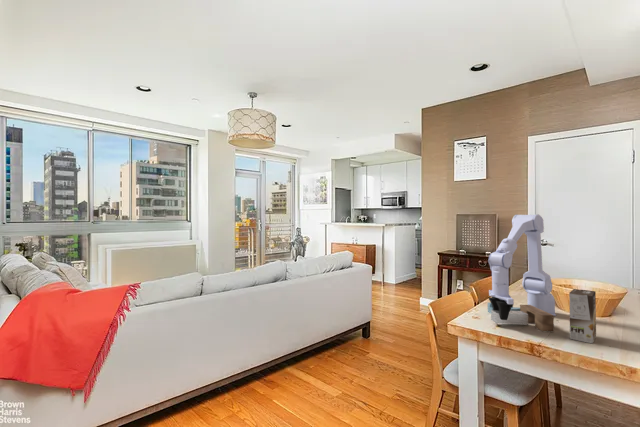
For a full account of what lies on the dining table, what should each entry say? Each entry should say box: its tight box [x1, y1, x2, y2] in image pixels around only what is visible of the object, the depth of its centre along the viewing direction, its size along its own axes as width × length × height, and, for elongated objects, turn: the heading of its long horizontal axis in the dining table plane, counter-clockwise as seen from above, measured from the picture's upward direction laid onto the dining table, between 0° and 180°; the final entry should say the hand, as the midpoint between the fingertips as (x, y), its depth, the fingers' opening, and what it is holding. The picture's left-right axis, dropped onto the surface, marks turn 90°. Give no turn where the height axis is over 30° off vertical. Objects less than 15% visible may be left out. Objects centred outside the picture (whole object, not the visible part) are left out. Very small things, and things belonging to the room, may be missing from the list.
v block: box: [487, 302, 520, 314], centre depth 139 cm, size 10×10×4 cm
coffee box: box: [569, 288, 597, 344], centre depth 113 cm, size 9×6×16 cm
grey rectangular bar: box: [490, 310, 529, 326], centre depth 126 cm, size 12×4×4 cm, turn 88°
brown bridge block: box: [519, 304, 555, 332], centre depth 126 cm, size 4×14×6 cm, turn 178°
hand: (500, 317), depth 126 cm, fingers closed on grey rectangular bar, 4 cm apart
